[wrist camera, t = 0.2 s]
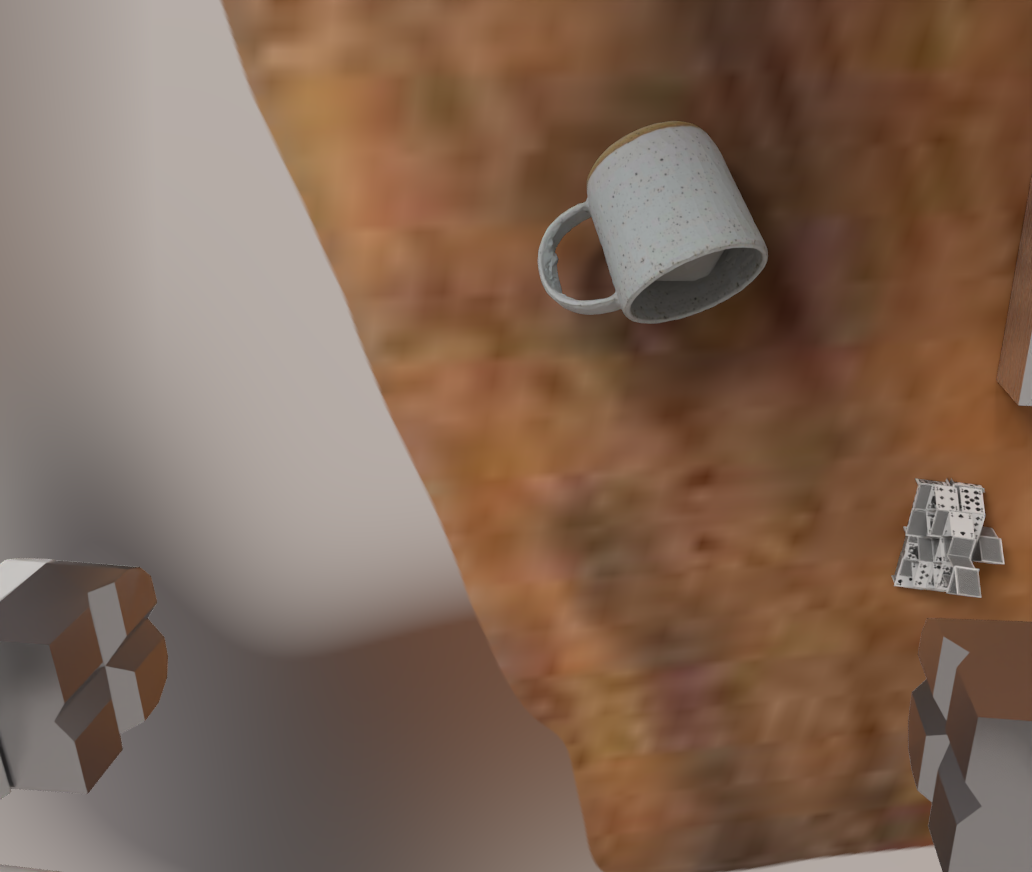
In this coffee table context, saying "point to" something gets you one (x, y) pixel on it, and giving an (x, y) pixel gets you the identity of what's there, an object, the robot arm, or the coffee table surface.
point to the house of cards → (947, 539)
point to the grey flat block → (1019, 322)
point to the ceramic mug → (662, 227)
